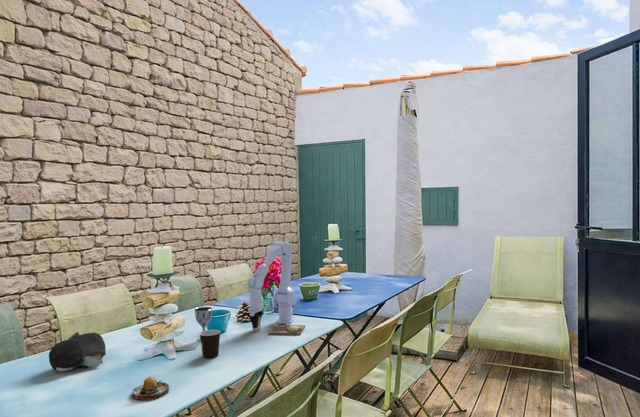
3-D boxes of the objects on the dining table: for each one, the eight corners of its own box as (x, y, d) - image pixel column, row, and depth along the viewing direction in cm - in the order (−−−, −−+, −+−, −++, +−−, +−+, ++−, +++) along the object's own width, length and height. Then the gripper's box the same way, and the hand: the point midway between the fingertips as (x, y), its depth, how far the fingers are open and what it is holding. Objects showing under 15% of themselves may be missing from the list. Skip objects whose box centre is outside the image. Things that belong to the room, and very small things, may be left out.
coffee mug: (218, 359, 183) (217, 335, 183) (197, 359, 183) (196, 335, 183) (224, 350, 195) (224, 327, 194) (205, 350, 195) (204, 328, 195)
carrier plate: (275, 326, 230) (275, 321, 230) (305, 327, 227) (304, 321, 227) (268, 334, 216) (268, 328, 216) (299, 335, 214) (299, 329, 214)
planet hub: (253, 329, 226) (253, 315, 226) (261, 329, 226) (261, 315, 226) (251, 331, 222) (251, 317, 222) (259, 331, 222) (258, 317, 222)
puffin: (109, 373, 184) (119, 346, 182) (61, 390, 165) (72, 360, 163) (81, 348, 192) (91, 321, 190) (33, 361, 173) (42, 332, 171)
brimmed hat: (173, 386, 157) (172, 365, 157) (162, 400, 145) (162, 378, 145) (139, 387, 157) (139, 366, 157) (126, 402, 145) (125, 379, 145)
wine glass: (214, 337, 214) (214, 306, 214) (209, 342, 206) (208, 310, 206) (199, 337, 215) (198, 306, 215) (192, 342, 207) (192, 310, 207)
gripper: (252, 297, 232) (253, 322, 232) (243, 303, 217) (244, 330, 217) (265, 297, 231) (266, 322, 231) (257, 303, 216) (258, 330, 216)
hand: (256, 326), depth 224 cm, fingers closed on planet hub, 4 cm apart
